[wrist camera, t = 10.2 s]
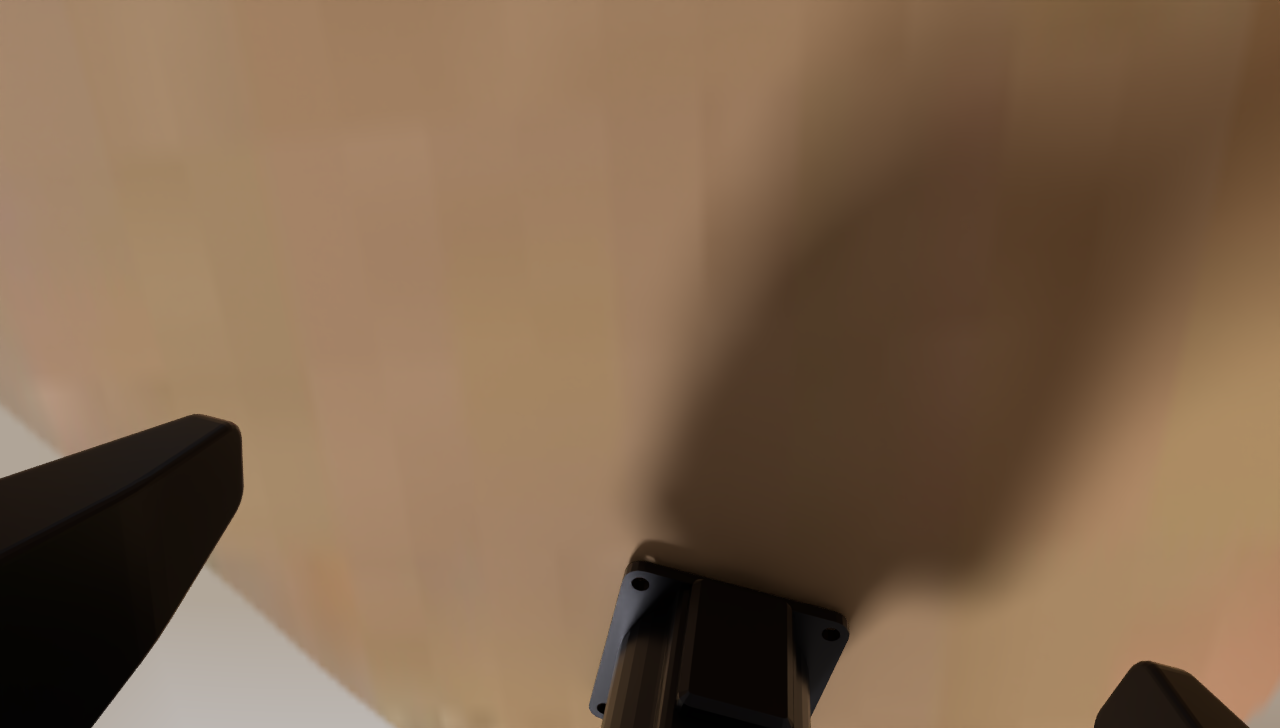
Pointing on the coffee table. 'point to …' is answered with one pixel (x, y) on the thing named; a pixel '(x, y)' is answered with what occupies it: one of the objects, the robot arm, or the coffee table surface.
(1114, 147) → the coffee table surface
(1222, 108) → the coffee table surface
